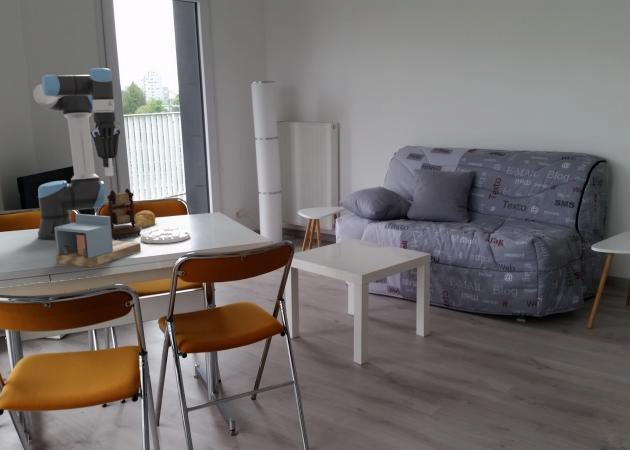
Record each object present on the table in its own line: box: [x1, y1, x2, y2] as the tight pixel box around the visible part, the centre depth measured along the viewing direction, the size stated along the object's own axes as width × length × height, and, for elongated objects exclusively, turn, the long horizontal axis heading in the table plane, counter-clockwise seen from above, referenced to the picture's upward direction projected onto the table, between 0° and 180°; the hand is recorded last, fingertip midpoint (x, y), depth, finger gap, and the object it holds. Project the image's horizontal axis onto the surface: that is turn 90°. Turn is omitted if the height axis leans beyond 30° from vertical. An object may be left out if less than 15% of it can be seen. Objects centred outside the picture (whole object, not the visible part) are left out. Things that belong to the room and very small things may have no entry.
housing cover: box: [54, 213, 113, 258], centre depth 227 cm, size 16×11×13 cm
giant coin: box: [140, 227, 190, 244], centre depth 263 cm, size 20×20×3 cm
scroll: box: [107, 188, 142, 240], centre depth 269 cm, size 15×15×20 cm
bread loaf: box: [134, 209, 156, 229], centre depth 293 cm, size 21×10×8 cm, turn 1°
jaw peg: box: [76, 233, 87, 255], centre depth 228 cm, size 4×4×10 cm
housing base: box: [55, 239, 142, 268], centre depth 234 cm, size 16×26×6 cm, turn 154°
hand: (109, 175), depth 236 cm, fingers closed
